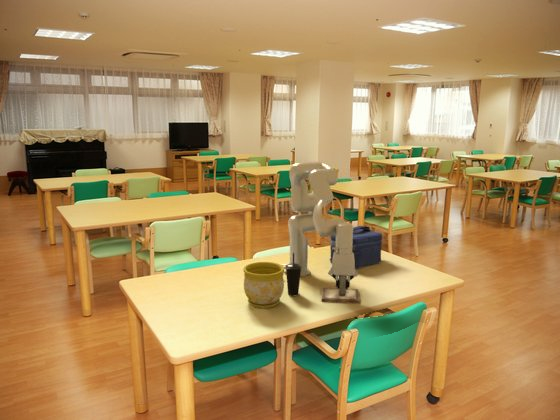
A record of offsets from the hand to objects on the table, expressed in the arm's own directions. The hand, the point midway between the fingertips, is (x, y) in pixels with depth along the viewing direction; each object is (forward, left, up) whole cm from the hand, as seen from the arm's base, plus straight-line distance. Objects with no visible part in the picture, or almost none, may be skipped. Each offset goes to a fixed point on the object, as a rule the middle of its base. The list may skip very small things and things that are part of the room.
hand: (342, 288), depth 201 cm
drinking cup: (-23, +2, -5) cm, 23 cm away
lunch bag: (+8, +54, -5) cm, 55 cm away
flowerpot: (-35, -10, -5) cm, 37 cm away
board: (-1, +2, -5) cm, 5 cm away
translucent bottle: (0, 0, -3) cm, 3 cm away
